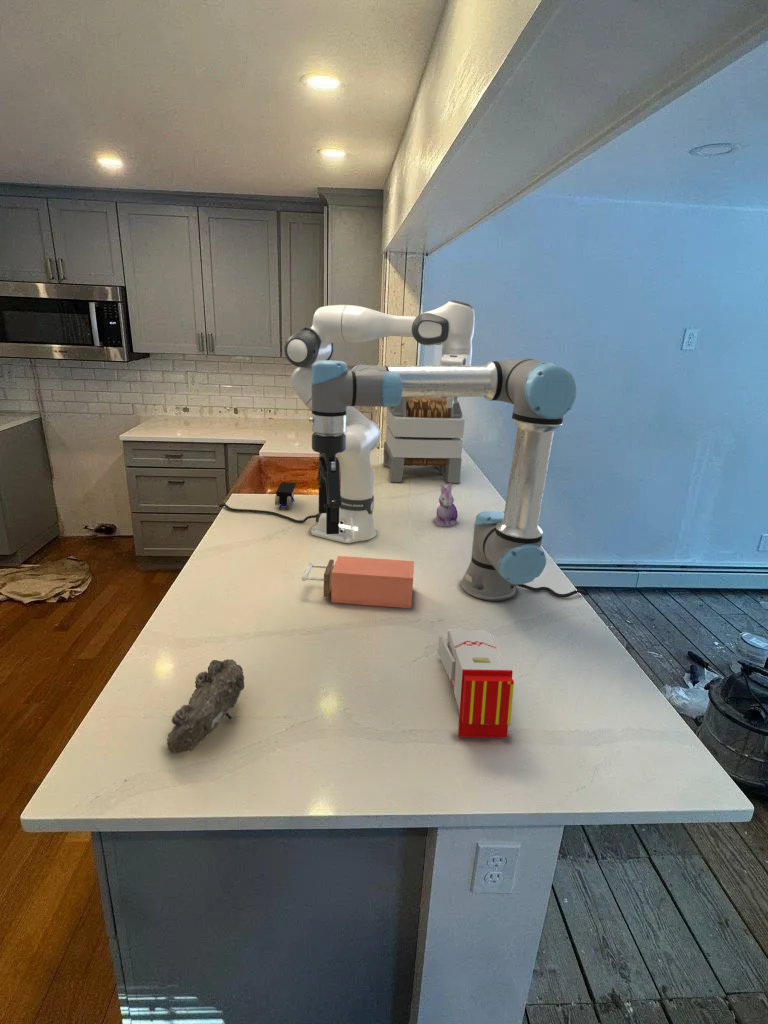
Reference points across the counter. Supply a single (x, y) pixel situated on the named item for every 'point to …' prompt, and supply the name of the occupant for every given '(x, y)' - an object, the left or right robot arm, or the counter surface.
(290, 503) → the figurine character
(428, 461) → the transformer
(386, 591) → the tall pink open box
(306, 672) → the counter surface
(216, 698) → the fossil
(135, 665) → the counter surface
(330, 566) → the drawer
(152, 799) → the counter surface
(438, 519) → the figurine
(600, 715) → the counter surface
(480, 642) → the toy
